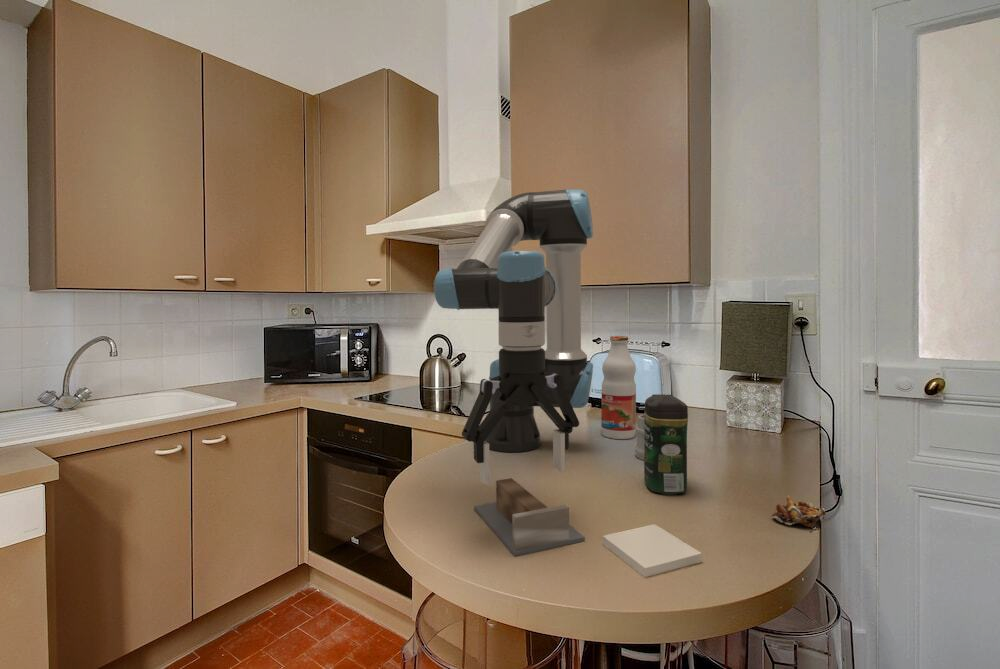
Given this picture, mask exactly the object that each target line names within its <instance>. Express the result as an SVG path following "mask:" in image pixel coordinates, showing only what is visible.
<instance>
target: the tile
mask: <svg viewBox="0 0 1000 669" xmlns="http://www.w3.org/2000/svg"><path fill="white" fill-rule="evenodd" d="M602 546H604V547H606V548H607V549H608V550H610V552H612V553H613V554H614V555H616V556H617V557H618V558H620V559H621V560H622V561H623V562H624V563H626V564H628V565H629V566H630V568H632V569H633V570H635V571H636V572H637V573H639V574H640V575H641V576H643V577H644V578H647V577H652V576H655V575H659V574H662V573H666V572H671V571H674V570H678V569H682V568H685V567H688V566H693V565H697V564H699V563H703V562H702V560H703V558H702V556H703V555H702V554H703V553H702V552H700V551H699V550H697V549H696V548H694V547H693V546H691V545H689V544H688V543H685V542H684V541H682V540H681V539H680V538H678V537H676V536H674V535H673V534H672V533H670V532H668V531H666V530H665V529H663V528H662V527H660V526H658V525H657V524H655V523H654V524H649V525H644V526H641V527H636V528H632V529H627V530H623V531H618V532H613V533H608V534H605V535H602Z"/></svg>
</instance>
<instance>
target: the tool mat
mask: <svg viewBox="0 0 1000 669" xmlns="http://www.w3.org/2000/svg"><path fill="white" fill-rule="evenodd" d="M534 497H535V498H536V499H538V498H537V497H536V496H534ZM539 501H540V500H539ZM540 502H541V503H543V502H542V501H540ZM544 505H545V506H546V507H548V506H547V505H546V504H544ZM473 510H474V511H475V512H476V513H477V515H478V516H479V517H480V518H481V519H482V521H483V522H484V523H485V524H486V525H487V526H488V527H489V528H490V529H491V531H492V532H493V533H494V534H495V535H496V537H497V538H498V539H499V540H500V541H501V542H502V544H503V545H504V546H505V547H506V548H507V549H508V551H510V553H511V554H512V556H514V557H518V556H522V555H523V556H524V555H526V554H527V555H529V554H531V553H536V552H541V551H545V550H546V551H547V550H549V549H550V550H551V549H554V548H558V547H563V546H568V545H569V546H570V545H572V544H576V543H577V544H578V543H581V542H585V540H586V536H584V535H582V533H580V532H579V531H578V530H577V529H575V528H574V527H573V526H572V525H570V524H569V539H568V540H563V541H558V542H554V543H549V544H544V545H540V546H535V547H530V548H526V549H521V550H515V549H514V548H513V533H512V524H511V522H510V521H509V520H508V519H507V518H506V517H505V516H504V515H503V514H502V513H501V512H500V511H499V510H498V509H497V508H496V501H495V502H490V503H485V504H477V505H474V506H473Z"/></svg>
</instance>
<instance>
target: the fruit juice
mask: <svg viewBox="0 0 1000 669" xmlns="http://www.w3.org/2000/svg"><path fill="white" fill-rule="evenodd" d="M609 338H610V339H609V340H610V348H609V351H608V353H607V356H606V358H605V359H604V361H603V363H602V368H601V371H602V374H603V380H602V382H601V415H600V416H601V422H600V423H601V425H600V426H601V429H600V431H601V435H602V436H603V437H605V438H609V439H614V440H629V439H633V438H634V437H635V436H636V433H637V431H636V430H637V427H636V424H637V420H636V418H637V385H636V382H635V374H636V372H637V369H636V363H635V361H634V360H633V358H632V357H631V353H630V351H629V348H628V343H629V336H628V335H611V336H610V337H609Z"/></svg>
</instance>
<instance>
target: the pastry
mask: <svg viewBox="0 0 1000 669" xmlns="http://www.w3.org/2000/svg"><path fill="white" fill-rule="evenodd" d="M786 503H787V504H786V505H783V504H776V506H775V508H776V509H775V511H774V513H773V514H772V515H771V518H773V519H775V520H777V521H778V522H780V523H784V524H785V525H788V526H792V525H795V524H801V525H803V526H806V527H807V528H811V530H810V531H809V533H810V532H814V533H815V532H816V533H817V532H818V531H820V530H819V526H818V525H817V522H818V521H819V520H820V521H821V522H823V521H824V520H825V515H826V509H825V508H823V507H822V508H821V507H819V506H817V507H816V506H815V504H814V503H811V502H806V501H797V503H796V502H795V501H792V499H791V497H790V495H787V497H786ZM819 508H820V511H819ZM815 527H816V528H818V529H817V530H818V531H816V530H812V529H813V528H815ZM817 534H818V533H817Z"/></svg>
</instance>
